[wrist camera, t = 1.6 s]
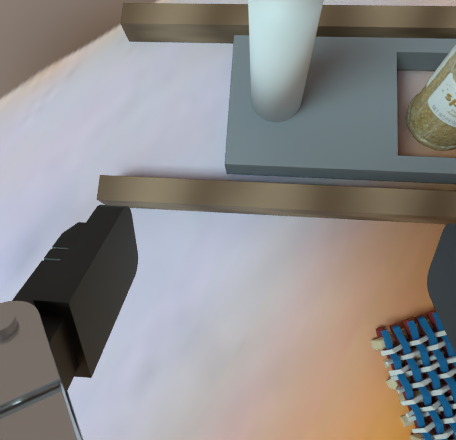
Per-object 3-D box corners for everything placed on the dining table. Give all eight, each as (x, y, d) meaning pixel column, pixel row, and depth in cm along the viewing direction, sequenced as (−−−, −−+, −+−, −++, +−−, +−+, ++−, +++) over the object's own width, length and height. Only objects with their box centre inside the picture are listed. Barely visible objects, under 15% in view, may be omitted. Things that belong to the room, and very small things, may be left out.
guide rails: (556, 28, 28) (579, 7, 26) (576, 231, 25) (603, 225, 24) (131, 22, 31) (123, 3, 29) (107, 206, 28) (96, 199, 26)
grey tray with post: (563, 59, 27) (760, -98, 17) (576, 189, 26) (805, 107, 15) (235, 53, 29) (222, -93, 18) (226, 173, 28) (207, 90, 17)
